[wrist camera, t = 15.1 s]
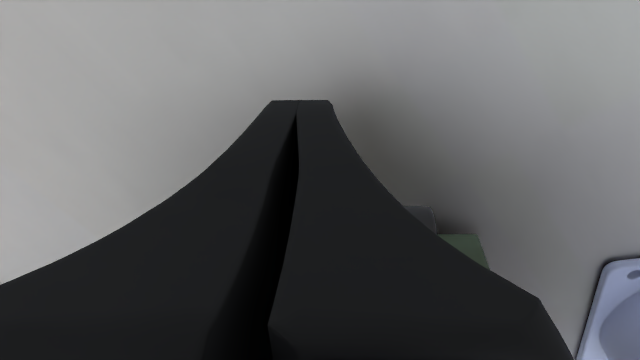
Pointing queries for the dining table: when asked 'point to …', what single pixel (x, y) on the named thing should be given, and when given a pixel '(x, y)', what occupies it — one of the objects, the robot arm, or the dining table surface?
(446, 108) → the dining table surface
